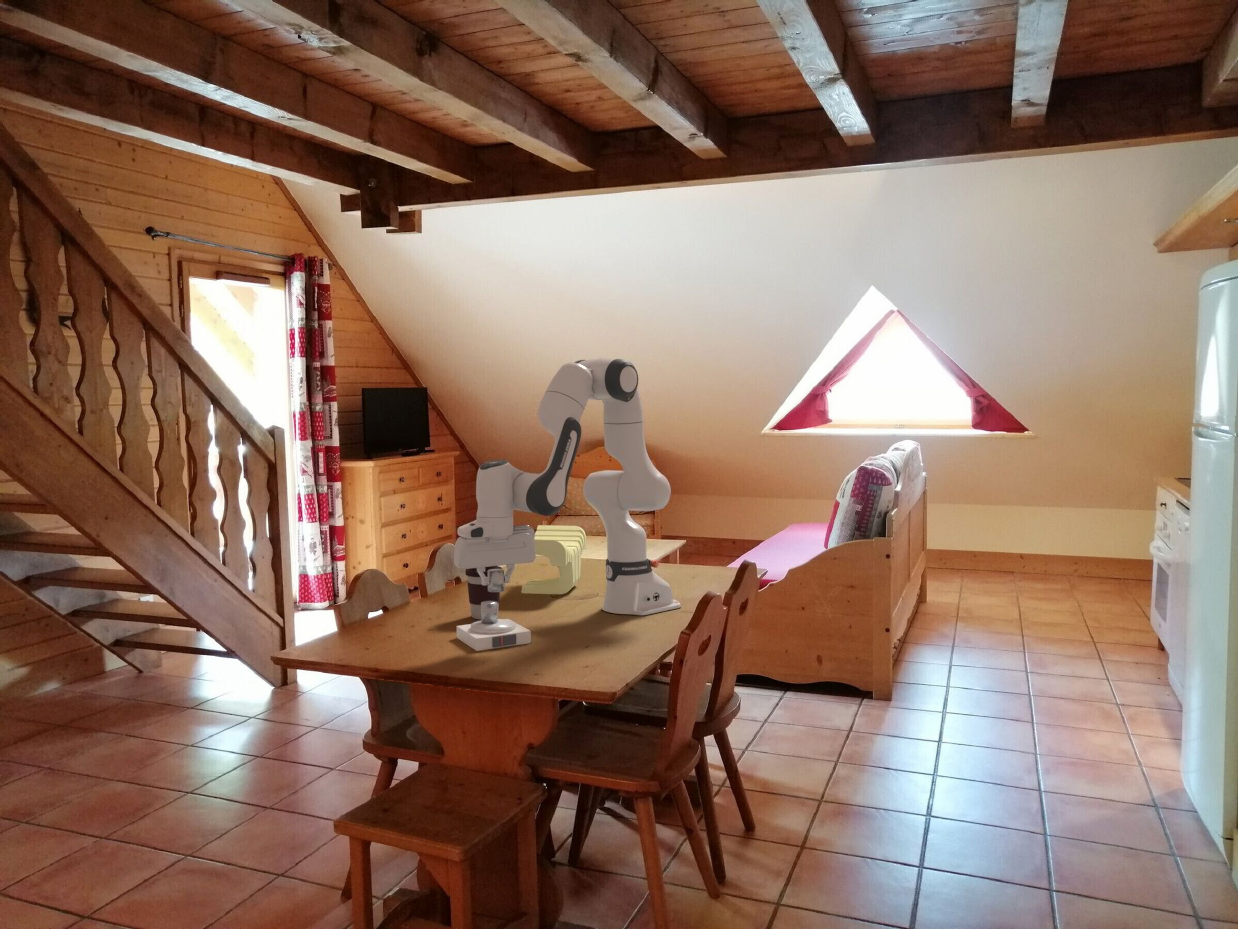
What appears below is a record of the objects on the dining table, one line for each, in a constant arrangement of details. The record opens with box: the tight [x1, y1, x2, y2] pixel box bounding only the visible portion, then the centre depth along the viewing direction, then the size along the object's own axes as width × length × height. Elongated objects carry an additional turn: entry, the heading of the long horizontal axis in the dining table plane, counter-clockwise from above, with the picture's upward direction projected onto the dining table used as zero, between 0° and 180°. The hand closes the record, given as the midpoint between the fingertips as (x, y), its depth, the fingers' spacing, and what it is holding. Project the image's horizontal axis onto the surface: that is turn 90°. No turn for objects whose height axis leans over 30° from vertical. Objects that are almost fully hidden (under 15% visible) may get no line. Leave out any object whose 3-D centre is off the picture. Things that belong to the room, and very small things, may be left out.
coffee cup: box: [464, 566, 503, 621], centre depth 258 cm, size 10×10×15 cm
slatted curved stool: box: [521, 524, 587, 595], centre depth 293 cm, size 30×16×18 cm, turn 170°
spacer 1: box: [488, 568, 505, 593], centre depth 231 cm, size 4×4×5 cm
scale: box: [456, 618, 532, 652], centre depth 234 cm, size 14×15×4 cm
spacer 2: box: [480, 601, 498, 624], centre depth 236 cm, size 4×4×5 cm
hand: (495, 583), depth 231 cm, fingers closed on spacer 1, 4 cm apart
